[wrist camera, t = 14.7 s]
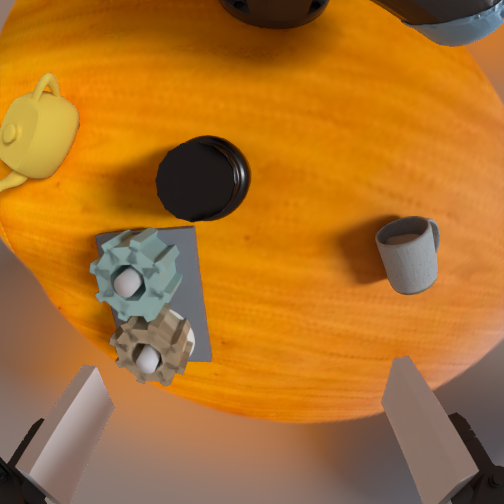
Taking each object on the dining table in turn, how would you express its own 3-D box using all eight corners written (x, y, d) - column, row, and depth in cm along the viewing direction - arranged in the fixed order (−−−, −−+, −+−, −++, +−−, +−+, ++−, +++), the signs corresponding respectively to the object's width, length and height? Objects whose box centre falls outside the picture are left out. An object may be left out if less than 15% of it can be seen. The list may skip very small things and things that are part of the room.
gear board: (99, 229, 36) (66, 246, 28) (194, 221, 36) (177, 238, 28) (130, 356, 43) (111, 389, 35) (212, 359, 42) (204, 397, 34)
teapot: (54, 208, 36) (7, 224, 25) (15, 175, 34) (-30, 184, 24) (107, 97, 31) (62, 81, 21) (61, 73, 29) (16, 58, 19)
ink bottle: (216, 123, 33) (197, 103, 21) (268, 172, 34) (275, 176, 23) (163, 180, 35) (122, 189, 23) (213, 228, 36) (194, 258, 25)
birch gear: (121, 300, 38) (102, 320, 32) (188, 302, 38) (177, 325, 32) (134, 357, 41) (121, 381, 35) (196, 361, 41) (189, 388, 35)
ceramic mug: (383, 284, 38) (407, 308, 31) (365, 234, 36) (390, 251, 29) (439, 251, 37) (469, 267, 30) (425, 201, 35) (458, 210, 28)
